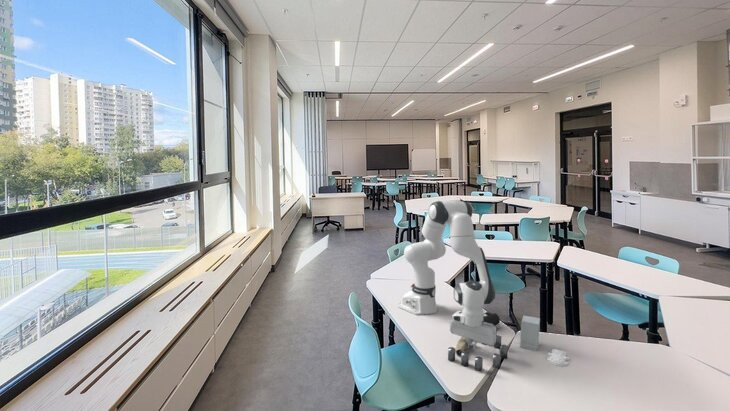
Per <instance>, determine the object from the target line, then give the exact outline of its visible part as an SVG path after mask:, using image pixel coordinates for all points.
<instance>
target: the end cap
mask: <svg viewBox="0 0 730 411" xmlns="http://www.w3.org/2000/svg"><path fill="white" fill-rule="evenodd" d="M483 321H484V322H487V323H491V324H493V325H494V326H495V327H496V326H498V325H499V324H500V322H501V319H500V316H499V315H498V314H497V313H495V312H494V313H491V312H490V311H489V312H488V311H486V312H484V315H483ZM494 326H493V327H494Z"/></svg>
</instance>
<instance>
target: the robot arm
mask: <svg viewBox="0 0 730 411" xmlns="http://www.w3.org/2000/svg"><path fill="white" fill-rule="evenodd" d="M472 216H473V207H472V205H471V204H470V203H469V202H467V201H463V200H460V201H459V200H443V201H440V200H437V201H434V202H432V203H431V204H430V205H429V208H428V212H427V214H426V217H425V219H424V222H423V225H422V229H421V235H422V236H423V238H424V240H423V241H419V242H412V243H411V244H409V245H406V246H405V248H404V249H403V250H404V251H403V257H404V259H405V261H407V263H409V264H410V265H411V267H412V268H413V272H414V283H412V284H411V285H410V288H412V289H410V290H409V291H407V292H405V294H403V296H402V298H401V301H399V302H398V304H397V307H398V308H399V309H401V310H404V311H406V312H409V313H411V314H413V315H415V316H419V315H431V314H434V313H436V312H438V307H437V302H436V289H437V288H436V283H435V282H436V272H435V270H433V268H431V267H429V264H428V262H429V261H435V260H437V259H440V258H443V257H444V256H445V255H446V251H447V249H446V245H445V243H444V242H443V241H442V240H443V239H442V238H443V235H444V231H445V229H446V226H447V225H448V227H449V237H450V238H449V239H450V245H451V249H452V251H453V252H454V253H456V254H457V255H459V256H461V257H464V258H467V259H470V260H472V261H473V262H474V264H475V265H476V268H477V272H478V277H479V281H477V280H467V281H466V282H459V283H457V284H456V285H455V286H454V287H453V299H454V300H455V302H456V303H457V304H459V305H460V306H462V308H463V309H462V310H457V311H455V312H454V313H453V314H452V316H451V321H450V324H449V332H450V333H451V334H452V335H456V336H459V337H465V338H466V341H467V343H468V348H469V349H472V350H475V349H476V348H477V347H476V346H477V344H478V343H481V344H482V343H484V344H487V345H488V346H494V344H495V342H496V335H497V334H496V333H497V327H496V326H494V325H493V324H491V323H487V322H484V321H483V316H485V314H484V313H485V312H484V305H490V304H491V303H492V302H493V301H494V300H495V298H496V289H495V288H494V285H493V282H492V278H491V274H490V271H489V267H488V266H489V265H488V263H487V259H486V254H485V252H484V250H483V248H482V247H481V246H479V245H478V243H477V241H476V238H475V229H474V228H475V227H474V224H473V220H472ZM493 326H494V327H493ZM470 339H471V340H474V341H473V343H471V341H470ZM484 344H483V345H484Z"/></svg>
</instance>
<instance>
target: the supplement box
mask: <svg viewBox="0 0 730 411" xmlns="http://www.w3.org/2000/svg"><path fill="white" fill-rule="evenodd" d="M540 323H541V318H540V317H534V316H530V315H529V316H528V315H523V316H522V319H521V325H520V341H519V342H520V343H519V348H521V349H525V350H526V349H527V350H531V351H538V346H539V338H540V325H541V324H540Z"/></svg>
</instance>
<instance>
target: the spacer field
mask: <svg viewBox="0 0 730 411" xmlns="http://www.w3.org/2000/svg"><path fill="white" fill-rule="evenodd" d="M502 338H503V337H502V336H501V335H499V334H498V335H497V334H496V342H495V344H494V345H493V348H495V349H497V350H500V351H499V352H500V354H499V353H497V352H496V353H493V354H492V368H494V369H500V368H501V359H503V360H506V359H508V353H509V352H508V350H509V346H508V345H507V344H504V343H503V344H502ZM481 344H482V345H485V346H486V345H487V344H484V343H481ZM447 351H448V352H447V356H448V357H447V360H448V361H449V362H453V363H454V362H455V361H456V352H455V351H456V347H453V346H450V347H448V348H447ZM469 353H470V352H467V351H463V352H462V353H461V354H460V356H461V359H460V360H461V361H460V365H461V366H463V367H468V366H469V362H470V361H469V356H470V355H469ZM483 359H484V358H483V357H482V356H479V355H478V356H475V357H474V371H476V372H483V363H484V362H483V361H484V360H483Z"/></svg>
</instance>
